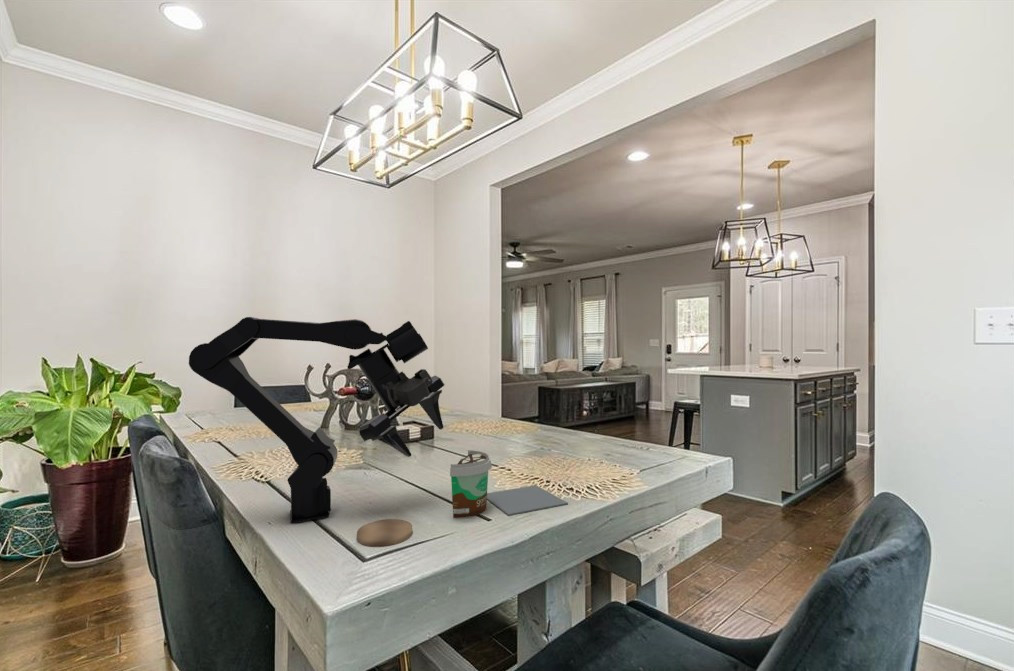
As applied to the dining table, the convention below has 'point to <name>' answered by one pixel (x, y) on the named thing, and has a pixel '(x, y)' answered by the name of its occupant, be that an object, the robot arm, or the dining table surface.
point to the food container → (470, 484)
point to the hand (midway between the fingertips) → (426, 442)
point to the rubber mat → (524, 500)
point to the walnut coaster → (384, 532)
